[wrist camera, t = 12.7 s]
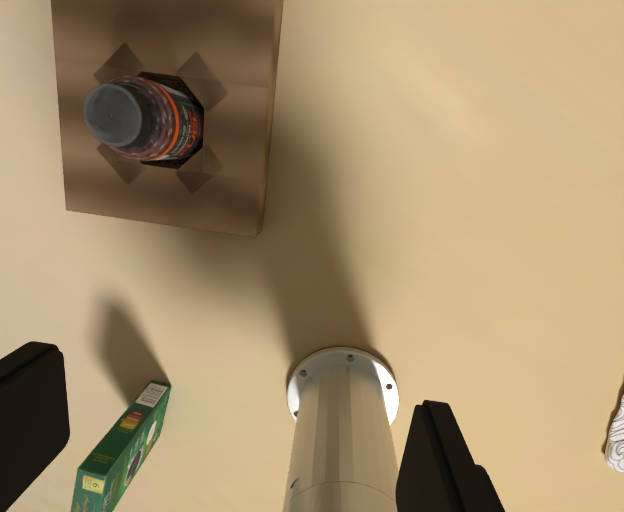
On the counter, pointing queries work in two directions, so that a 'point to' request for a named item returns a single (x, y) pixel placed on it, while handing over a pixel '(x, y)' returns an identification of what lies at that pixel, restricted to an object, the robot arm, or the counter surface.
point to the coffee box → (121, 452)
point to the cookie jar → (616, 441)
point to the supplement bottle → (144, 119)
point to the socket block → (204, 85)
